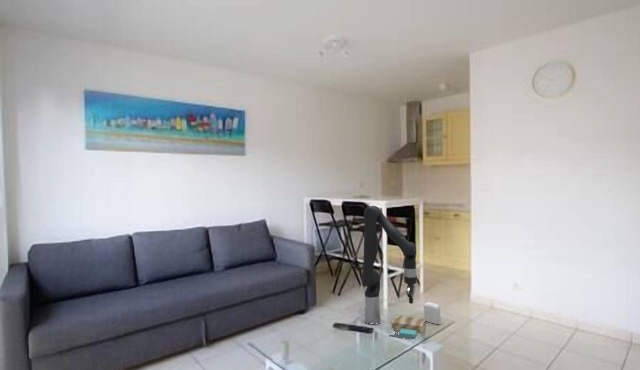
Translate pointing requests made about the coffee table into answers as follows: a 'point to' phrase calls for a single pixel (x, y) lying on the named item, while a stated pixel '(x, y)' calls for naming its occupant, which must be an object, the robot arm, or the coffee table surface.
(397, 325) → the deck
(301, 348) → the coffee table surface
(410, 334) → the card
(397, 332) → the mat
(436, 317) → the photo printer
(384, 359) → the coffee table surface
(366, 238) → the robot arm
